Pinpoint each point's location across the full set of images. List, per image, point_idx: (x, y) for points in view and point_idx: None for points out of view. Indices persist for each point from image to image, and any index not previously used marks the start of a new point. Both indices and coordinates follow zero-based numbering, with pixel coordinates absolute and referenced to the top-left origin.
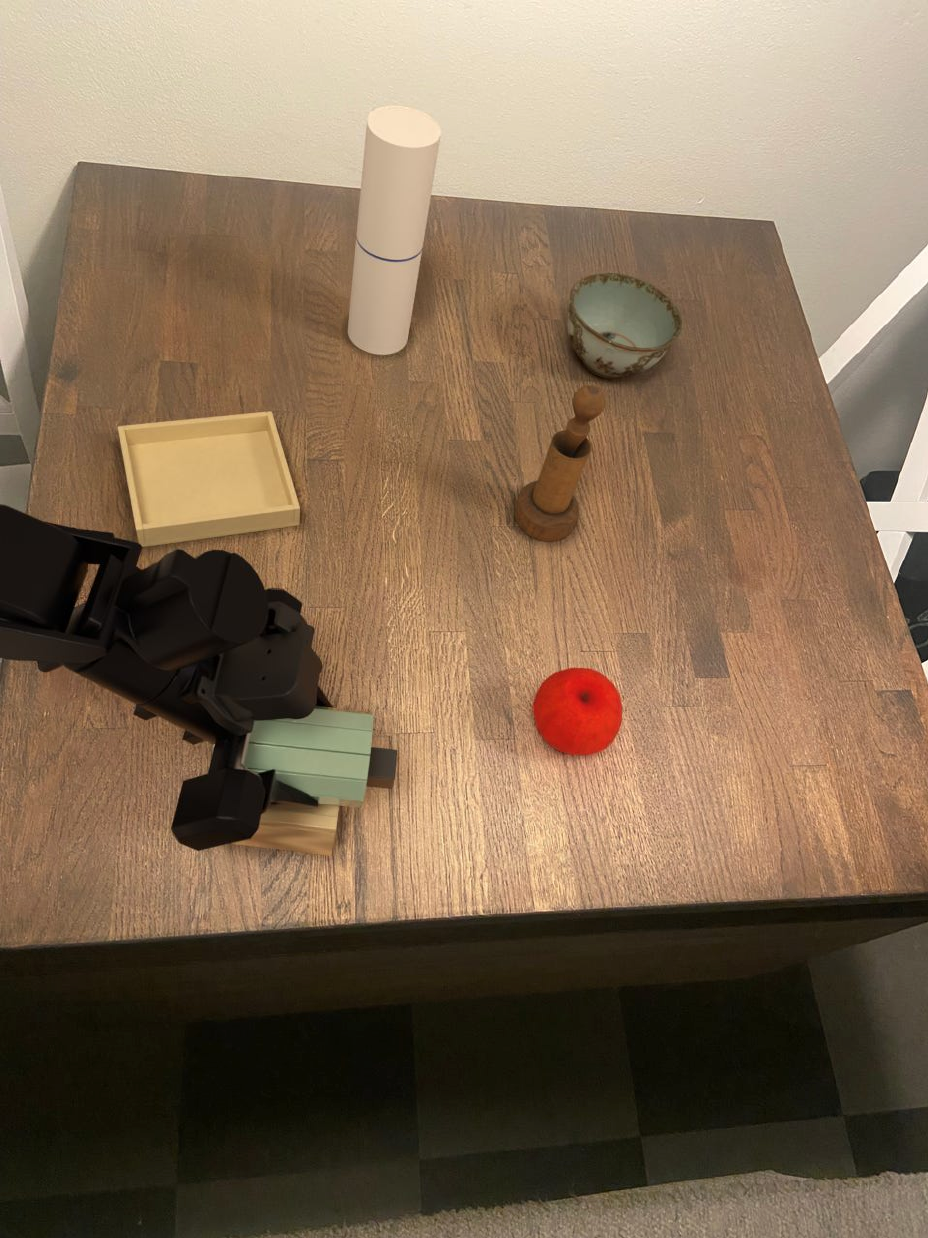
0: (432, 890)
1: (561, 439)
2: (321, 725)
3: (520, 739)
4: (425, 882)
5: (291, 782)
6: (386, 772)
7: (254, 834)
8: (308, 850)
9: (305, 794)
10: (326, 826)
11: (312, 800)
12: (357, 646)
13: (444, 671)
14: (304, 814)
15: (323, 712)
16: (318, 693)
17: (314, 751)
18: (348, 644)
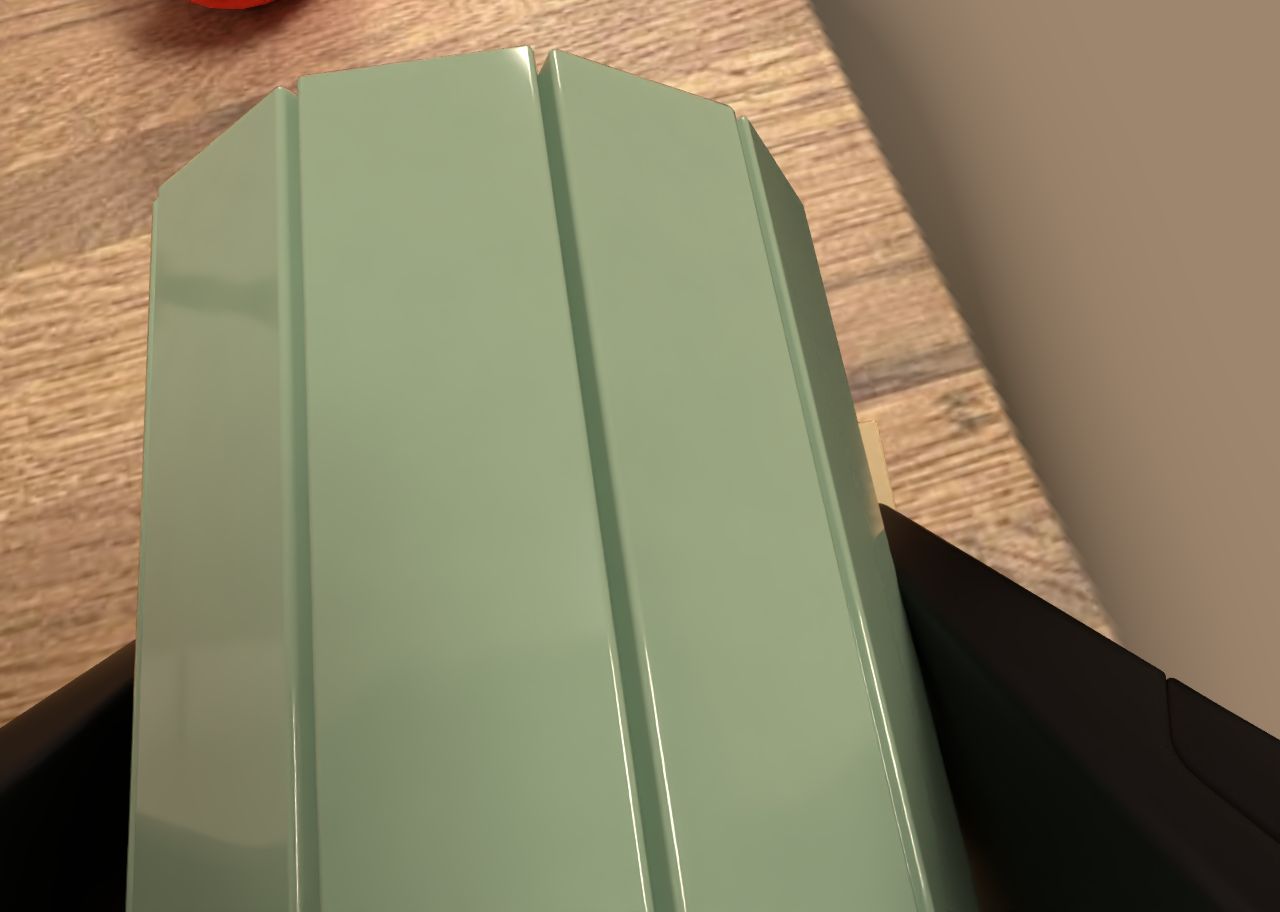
0: (821, 181)
1: None
2: (299, 591)
3: (304, 69)
4: (804, 204)
5: (915, 731)
6: None
7: None
8: None
9: (927, 583)
10: (877, 467)
11: (895, 535)
12: (28, 620)
13: (104, 317)
14: None
15: (158, 624)
16: (42, 731)
17: (644, 578)
18: (21, 655)
